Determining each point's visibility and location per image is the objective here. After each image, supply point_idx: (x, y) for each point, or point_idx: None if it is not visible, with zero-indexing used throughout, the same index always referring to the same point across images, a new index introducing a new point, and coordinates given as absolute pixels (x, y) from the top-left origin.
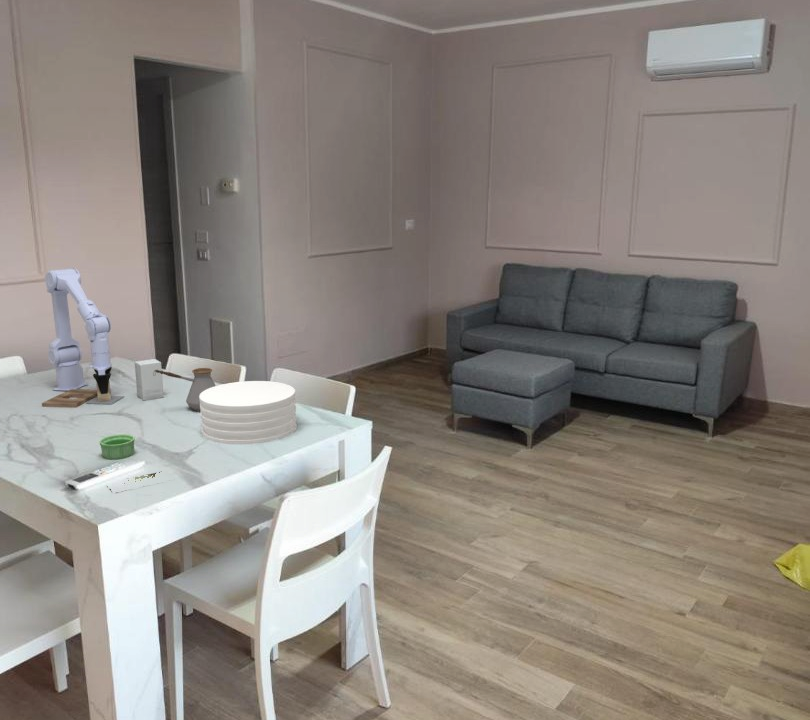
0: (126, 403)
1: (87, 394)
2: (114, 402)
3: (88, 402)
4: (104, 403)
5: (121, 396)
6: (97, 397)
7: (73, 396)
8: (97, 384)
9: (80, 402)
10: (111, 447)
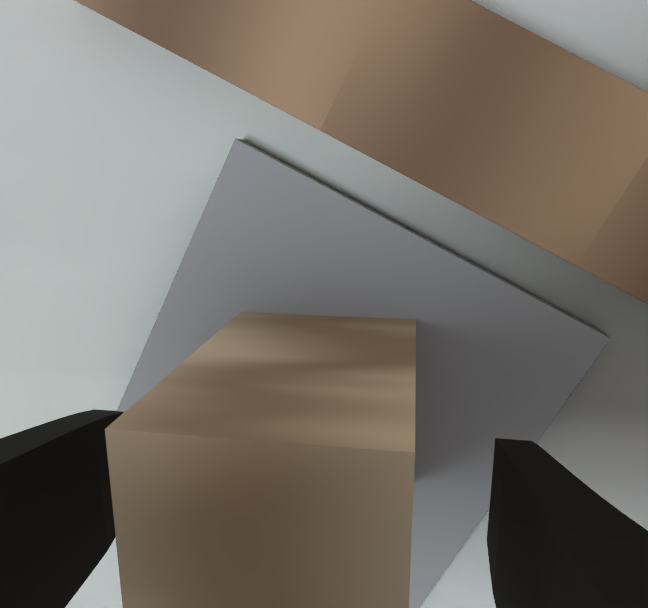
0: (109, 604)
1: (640, 148)
2: None
3: (232, 177)
4: (128, 386)
5: None
6: (487, 305)
7: None
8: (110, 449)
9: (179, 55)
10: None
